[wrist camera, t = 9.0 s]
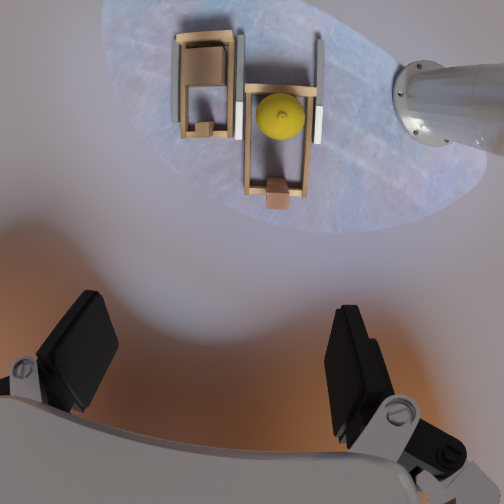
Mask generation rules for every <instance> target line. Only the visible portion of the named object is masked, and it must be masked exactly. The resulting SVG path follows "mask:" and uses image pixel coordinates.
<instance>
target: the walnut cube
mask: <svg viewBox="0 0 504 504" xmlns="http://www.w3.org/2000/svg"><path fill="white" fill-rule="evenodd" d="M182 85H185V86H189V87H208V86H227V52H226V51H225V50H224V48H223V47H204V48H191V49H183V70H182Z"/></svg>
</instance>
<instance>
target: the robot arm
mask: <svg viewBox="0 0 504 504" xmlns="http://www.w3.org/2000/svg"><path fill="white" fill-rule="evenodd" d="M398 93H399V94H400V95H398ZM393 103H394V108H395V112H396V114H397V117H398V119H399V121H400V123H401V125H402V126H403V128H404V129H405V130H406V132H407V133H408V134H409V135H410V136H411V137H412V138H414V139H415V140H417V141H418V142H420V143H422V144H425V145H428V146H432V147H442V146H446V145H448V144H450V143H452V142H453V141H454V142H457V143H460V144H464V145H467V146H470V147H474V148H477V149H480V150H483V151H486V152H489V153H492V154H495V155H498V156H500V157H504V63H502V64H482V65H470V66H459V67H450V68H445V67H443V66H442V65H440V64H437V63H436V62H432V61H422V60H421V61H416V62H413V63H410V64H408V65H407V66H406V67H404V68H403V69H402V70H401V71H400V73H399V74H398V76H397V78H396V80H395V84H394V88H393ZM413 131H414V133H413ZM444 139H445V140H444ZM118 345H119V344H118V339H117V336H116V334H115V331H114V328H113V326H112V323H111V320H110V317H109V314H108V312H107V308H106V306H105V303H104V299H103V297H102V295H100V294H99V292H98V291H93V290H85V291H84V292H83V293H82V294H81V295H80V297H79V298H78V299H77V300H76V301H75V303H74V304H73V305H72V306H71V308H70V309H69V310H68V311H67V313H66V314H65V315H64V316H63V318H62V319H61V320H60V322H59V323H58V324H57V325H56V327H55V328H54V329H53V331H52V332H51V334H50V335H49V336H48V338H47V339H46V340H45V342H44V343H43V344H42V346H41V347H40V349H39V350H38V351H37V353H36V355H37V357H38V359H37V360H35V359H34V358H33V357H31V356H24V357H21V358H19V359H17V360H16V361H15V362H14V363H13V365H12V366H11V369H10V376H8V377H5V378H2V379H0V504H420V500H419V496H418V492H417V491H423V492H424V493H425V494H426V495H427V496H428V497H429V498H428V499H427V500H428V501H429V502H430V503H431V504H499V502H500V497H501V494H500V490H499V488H498V487H497V486H496V485H495V484H494V482H493V481H492V480H491V479H490V478H489V477H488V476H487V475H486V474H485V473H484V472H483V471H482V470H481V469H480V468H479V467H478V466H477V465H476V464H475V463H474V462H473V461H471V462H469V461H468V460H467V459H466V457H467V452H466V448H465V446H464V445H463V443H462V442H460V441H459V440H458V439H456V438H454V437H453V436H451V435H449V434H447V433H445V432H443V431H442V430H440V429H438V428H436V427H434V426H433V425H431V424H429V423H427V422H426V421H424V420H422V419H420V409H419V407H418V405H417V403H416V402H415V401H414V400H413V399H411V398H409V397H407V396H405V395H395V393H394V390H393V387H392V384H391V380H390V377H389V374H388V371H387V368H386V365H385V362H384V359H383V356H382V353H381V350H380V348H379V345H378V342H377V341H376V339H374V338H373V339H369V337H368V334H367V331H366V328H365V325H364V322H363V319H362V317H361V314H360V311H359V309H358V306H357V305H342V306H341V309H337V310H336V313H335V317H334V321H333V325H332V330H331V334H330V338H329V342H328V346H327V350H326V354H325V360H324V366H325V372H326V379H327V386H328V394H329V401H330V409H331V417H332V425H333V433H334V436H335V437H339V443H347V448H348V449H349V451H348V452H266V451H246V450H233V449H222V448H213V447H205V446H198V445H191V444H185V443H178V442H173V441H168V440H163V439H158V438H153V437H148V436H144V435H140V434H136V433H132V432H128V431H124V430H120V429H116V428H113V427H110V426H106V425H103V424H99V423H96V422H93V421H90V420H87V419H84V418H81V417H78V416H76V415H73V414H71V413H70V410H71V408H73V410H76V411H79V412H82V413H83V412H84V410H85V408H86V407H88V406H89V405H90V403H91V401H92V399H93V397H94V395H95V393H96V391H97V389H98V387H99V385H100V383H101V381H102V379H103V376H104V375H105V373H106V370H107V369H108V367H109V365H110V363H111V361H112V359H113V357H114V355H115V353H116V351H117V349H118Z"/></svg>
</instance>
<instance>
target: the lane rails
mask: <svg viewBox="0 0 504 504" xmlns="http://www.w3.org/2000/svg"><path fill="white" fill-rule="evenodd" d="M244 72H245V35H238V47H237V87H236V122H235V140H242V139H243V116H244ZM323 81H324V40H322V39H317V41H316V64H315V88H317V96H315V97H314V118H313V136H312V142H313V143H315V144H321V132H322V115H323Z"/></svg>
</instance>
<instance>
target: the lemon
mask: <svg viewBox="0 0 504 504" xmlns="http://www.w3.org/2000/svg"><path fill="white" fill-rule="evenodd" d="M256 122H257V124H258V127H259V128H260V130H261V131H262V132H263V133H264V134H265V135H267V136H268V137H270V138H273V139H277V140H286V139H289V138H292V137H294V136H295V135H297V134H298V133H299V132H300V131H301V129H302V128H303V126H304V122H305V112H304V108H303V106H302V105H301V103H300V102H299V101H298V100H297V99H296V98H295V97H293V96H291V95H288V94H285V93H275V94H271V95H269V96H267V97H266V98H264V99H263V100H262V101H261V102H260V104H259V105H258V108H257V110H256Z"/></svg>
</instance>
